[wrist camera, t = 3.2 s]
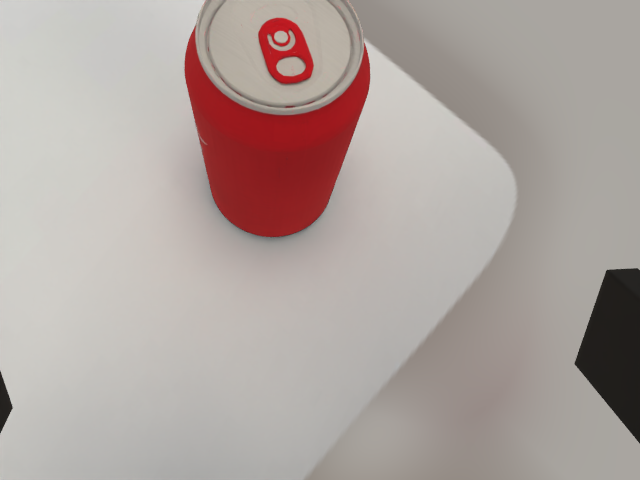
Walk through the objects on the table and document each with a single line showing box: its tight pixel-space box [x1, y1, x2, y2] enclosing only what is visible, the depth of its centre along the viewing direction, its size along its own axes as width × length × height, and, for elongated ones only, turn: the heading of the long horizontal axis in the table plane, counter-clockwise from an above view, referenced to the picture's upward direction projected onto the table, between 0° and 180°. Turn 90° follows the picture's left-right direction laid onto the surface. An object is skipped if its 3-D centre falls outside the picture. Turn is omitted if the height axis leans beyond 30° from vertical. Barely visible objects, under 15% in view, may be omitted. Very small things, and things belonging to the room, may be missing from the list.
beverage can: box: [185, 0, 370, 237], centre depth 22 cm, size 6×6×12 cm
